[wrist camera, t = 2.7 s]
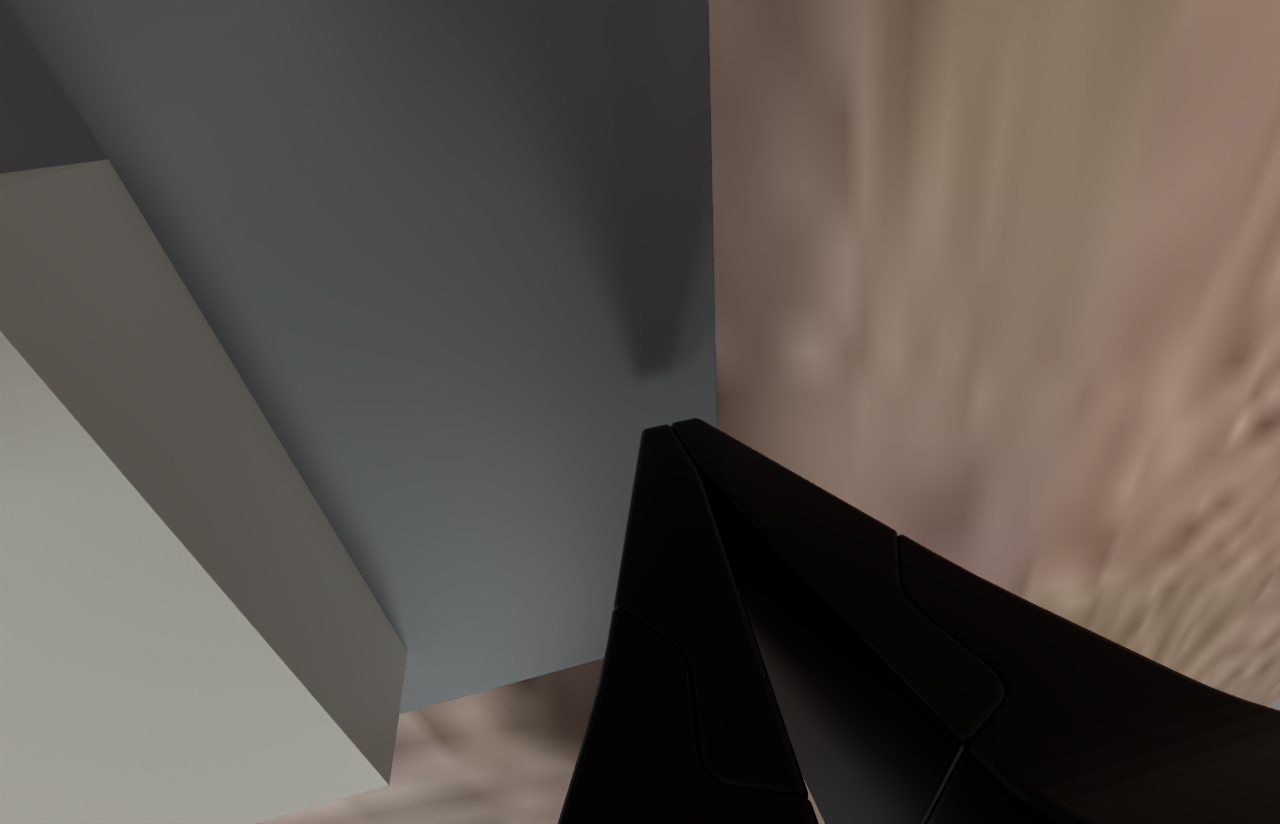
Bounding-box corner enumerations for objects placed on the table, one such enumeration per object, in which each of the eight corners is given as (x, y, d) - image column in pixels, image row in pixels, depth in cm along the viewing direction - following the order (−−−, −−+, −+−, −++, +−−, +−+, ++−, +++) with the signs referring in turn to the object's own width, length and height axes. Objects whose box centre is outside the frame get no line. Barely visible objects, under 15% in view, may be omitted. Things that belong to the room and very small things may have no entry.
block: (407, 651, 11) (388, 785, 9) (72, 738, 10) (-31, 906, 8) (109, 158, 6) (-97, 216, 4) (-637, 257, 5) (-1409, 398, 3)
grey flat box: (674, 509, 16) (720, 626, 13) (73, 653, 14) (-54, 837, 11) (623, -78, 9) (704, -160, 5) (-683, 39, 6) (-1885, 26, 3)
